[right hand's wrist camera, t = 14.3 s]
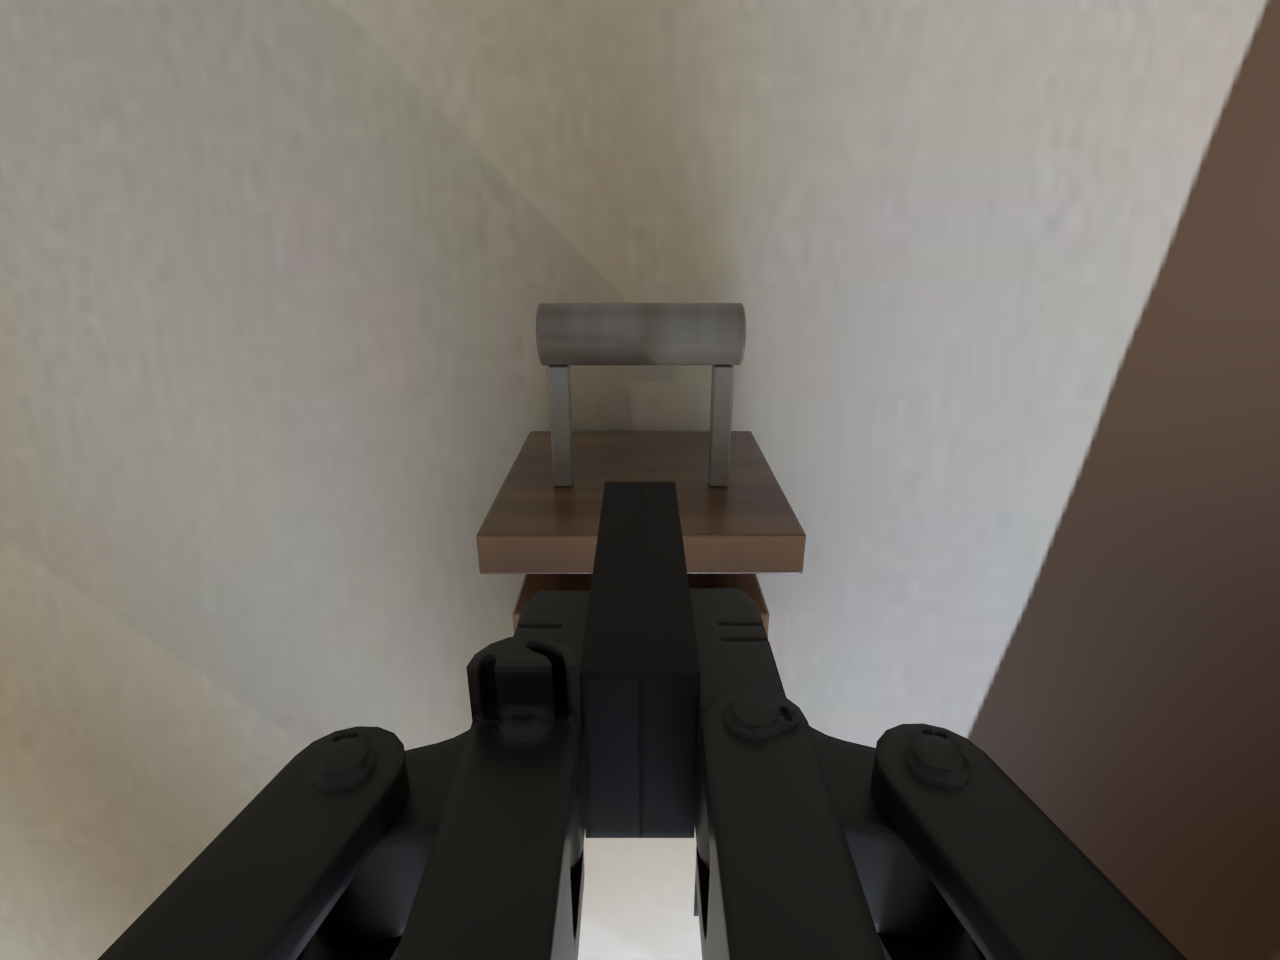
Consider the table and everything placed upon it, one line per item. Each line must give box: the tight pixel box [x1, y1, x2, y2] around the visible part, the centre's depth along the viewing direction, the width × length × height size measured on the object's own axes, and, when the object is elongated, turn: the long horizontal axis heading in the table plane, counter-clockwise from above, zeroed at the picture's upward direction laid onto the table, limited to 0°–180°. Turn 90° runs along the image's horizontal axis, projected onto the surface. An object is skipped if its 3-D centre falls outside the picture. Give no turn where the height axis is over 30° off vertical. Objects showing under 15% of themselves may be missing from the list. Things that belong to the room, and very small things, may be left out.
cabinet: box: [578, 832, 702, 960], centre depth 29 cm, size 20×10×11 cm, turn 0°
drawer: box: [476, 303, 806, 636], centre depth 25 cm, size 24×9×10 cm, turn 0°
